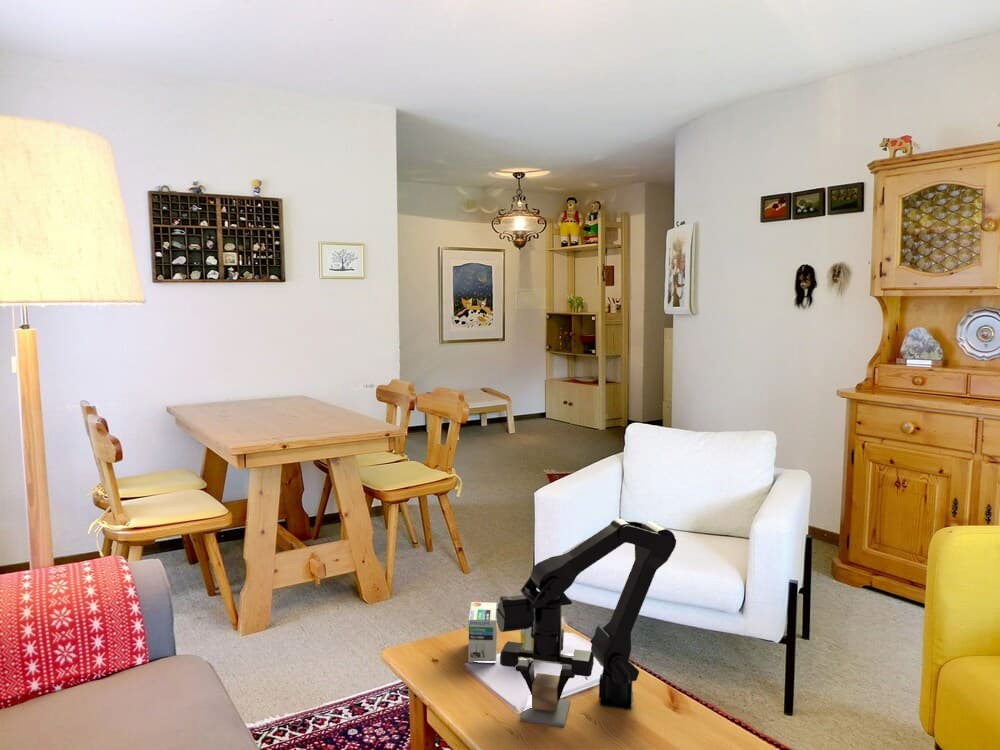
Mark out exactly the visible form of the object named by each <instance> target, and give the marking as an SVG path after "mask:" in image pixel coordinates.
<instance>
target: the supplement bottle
mask: <svg viewBox="0 0 1000 750" xmlns="http://www.w3.org/2000/svg"><path fill="white" fill-rule="evenodd" d="M531 628H532V627H529V629H523V630H520V643H523V644H524V650H530V651H533V638H531Z"/></svg>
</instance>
